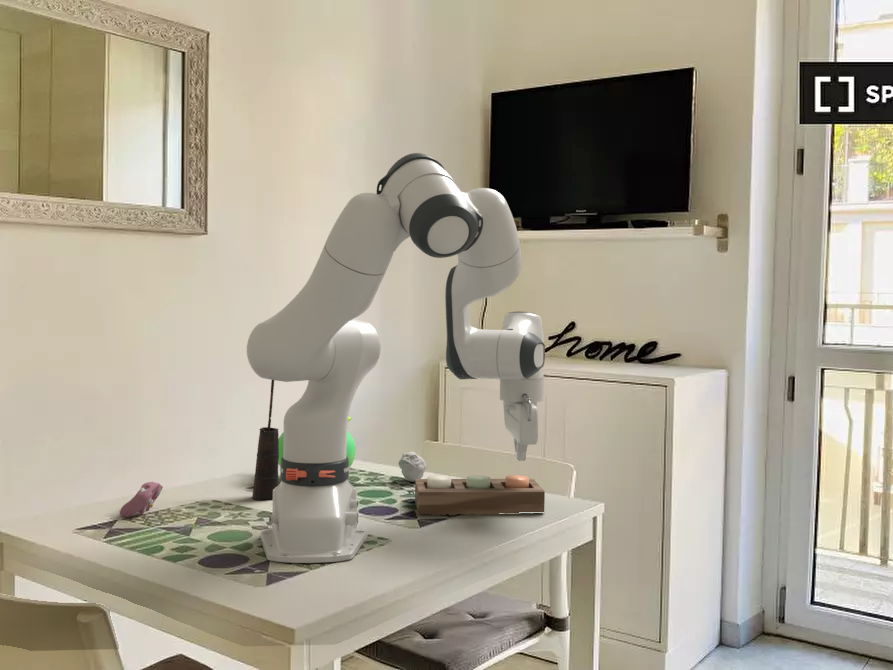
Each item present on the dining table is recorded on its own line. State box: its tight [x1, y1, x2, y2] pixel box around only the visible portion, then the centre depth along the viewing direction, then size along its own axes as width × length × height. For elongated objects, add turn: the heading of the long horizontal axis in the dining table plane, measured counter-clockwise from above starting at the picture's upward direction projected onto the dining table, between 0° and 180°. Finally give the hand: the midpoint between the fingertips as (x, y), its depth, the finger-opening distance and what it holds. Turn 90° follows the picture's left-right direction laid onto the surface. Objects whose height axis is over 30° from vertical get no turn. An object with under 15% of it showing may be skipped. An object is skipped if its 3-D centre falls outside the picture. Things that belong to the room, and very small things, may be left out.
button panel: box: [414, 478, 546, 516], centre depth 183 cm, size 12×25×4 cm, turn 96°
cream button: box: [426, 475, 452, 489], centre depth 182 cm, size 5×5×2 cm
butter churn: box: [252, 380, 280, 501], centre depth 186 cm, size 9×10×28 cm
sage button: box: [466, 474, 491, 489], centre depth 183 cm, size 5×5×2 cm
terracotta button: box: [504, 474, 530, 488], centre depth 184 cm, size 5×5×2 cm
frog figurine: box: [398, 451, 427, 483], centre depth 206 cm, size 6×7×7 cm
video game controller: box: [119, 480, 164, 518], centre depth 175 cm, size 10×5×7 cm, turn 1°
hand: (520, 459), depth 183 cm, fingers closed
